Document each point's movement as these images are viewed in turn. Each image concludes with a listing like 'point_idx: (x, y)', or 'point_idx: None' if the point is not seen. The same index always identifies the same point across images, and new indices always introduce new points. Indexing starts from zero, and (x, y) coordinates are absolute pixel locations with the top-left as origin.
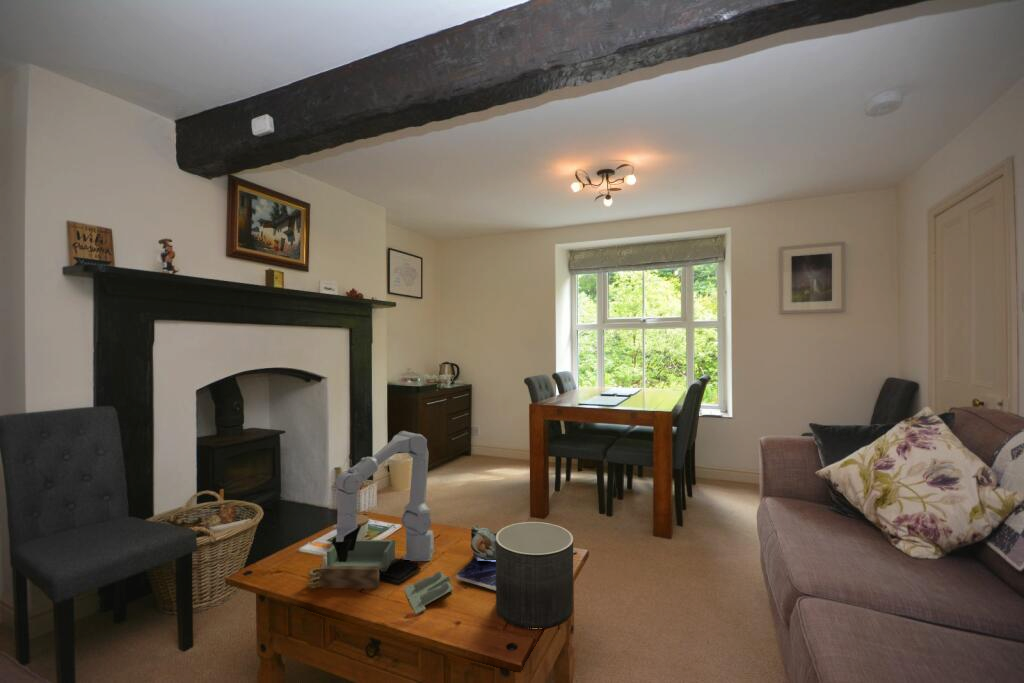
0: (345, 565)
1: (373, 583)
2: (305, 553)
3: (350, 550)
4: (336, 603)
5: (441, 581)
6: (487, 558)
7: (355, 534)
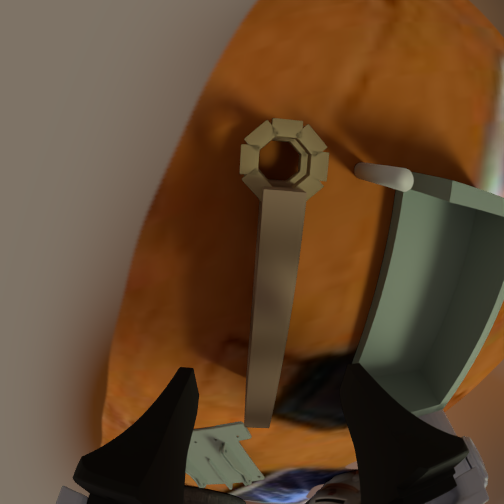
0: (411, 247)
1: (246, 381)
2: (496, 74)
3: (342, 381)
4: (147, 286)
5: (222, 479)
6: (313, 496)
7: (362, 478)
